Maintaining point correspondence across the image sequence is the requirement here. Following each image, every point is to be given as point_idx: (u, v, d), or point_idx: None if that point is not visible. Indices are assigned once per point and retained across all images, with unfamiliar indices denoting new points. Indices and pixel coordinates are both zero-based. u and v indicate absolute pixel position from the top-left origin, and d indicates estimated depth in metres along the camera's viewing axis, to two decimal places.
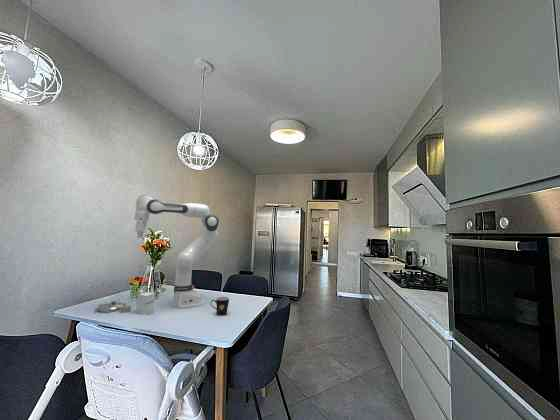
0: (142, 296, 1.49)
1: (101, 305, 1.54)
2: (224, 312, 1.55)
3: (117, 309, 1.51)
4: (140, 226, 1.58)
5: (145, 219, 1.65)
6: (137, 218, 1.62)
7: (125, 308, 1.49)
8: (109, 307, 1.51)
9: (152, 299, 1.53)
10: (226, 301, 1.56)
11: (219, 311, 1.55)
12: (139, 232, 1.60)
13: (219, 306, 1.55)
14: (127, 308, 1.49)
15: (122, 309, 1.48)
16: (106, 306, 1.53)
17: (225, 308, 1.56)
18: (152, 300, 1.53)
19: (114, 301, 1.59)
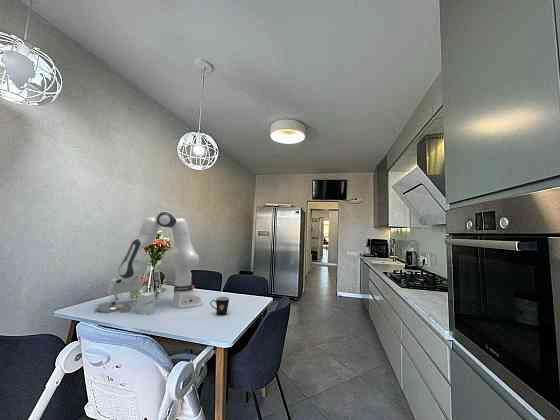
0: (142, 296, 1.49)
1: (101, 305, 1.54)
2: (224, 312, 1.55)
3: (117, 309, 1.51)
4: None
5: None
6: (133, 279, 1.68)
7: (125, 308, 1.49)
8: (109, 307, 1.51)
9: (152, 299, 1.53)
10: (226, 301, 1.56)
11: (219, 311, 1.55)
12: None
13: (219, 306, 1.55)
14: (127, 308, 1.49)
15: (122, 309, 1.48)
16: (106, 306, 1.53)
17: (225, 308, 1.56)
18: (152, 300, 1.53)
19: (114, 301, 1.59)
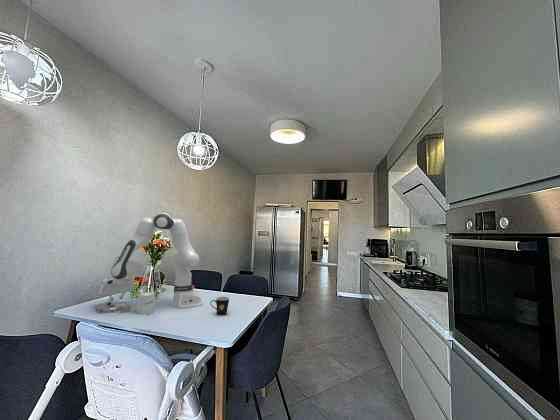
0: (142, 296, 1.49)
1: (99, 306, 1.51)
2: (224, 312, 1.55)
3: None
4: None
5: None
6: (125, 279, 1.65)
7: (125, 308, 1.49)
8: (112, 307, 1.52)
9: (152, 299, 1.53)
10: (226, 301, 1.56)
11: (219, 311, 1.55)
12: None
13: (219, 306, 1.55)
14: (127, 308, 1.49)
15: (122, 309, 1.48)
16: (106, 306, 1.52)
17: (225, 308, 1.56)
18: (152, 300, 1.53)
19: (110, 301, 1.58)
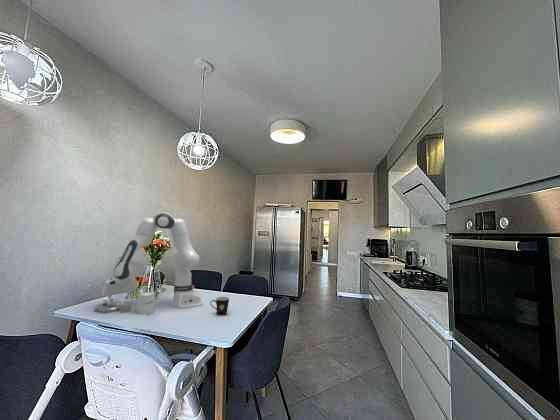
0: (142, 296, 1.49)
1: (99, 307, 1.49)
2: (224, 312, 1.55)
3: None
4: None
5: None
6: (128, 280, 1.66)
7: (125, 308, 1.49)
8: (114, 306, 1.53)
9: (152, 299, 1.53)
10: (226, 301, 1.56)
11: (219, 311, 1.55)
12: None
13: (219, 306, 1.55)
14: (127, 308, 1.49)
15: (122, 309, 1.48)
16: (107, 307, 1.52)
17: (225, 308, 1.56)
18: (152, 300, 1.53)
19: (106, 302, 1.57)
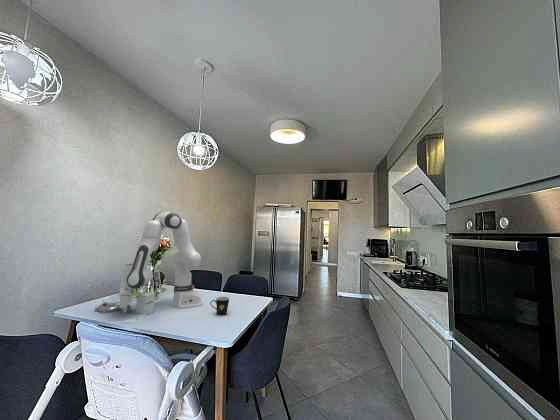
0: (142, 296, 1.49)
1: (99, 307, 1.49)
2: (224, 312, 1.55)
3: None
4: None
5: None
6: None
7: None
8: (114, 306, 1.53)
9: (152, 299, 1.53)
10: (226, 301, 1.56)
11: (219, 311, 1.55)
12: None
13: (219, 306, 1.55)
14: (127, 308, 1.49)
15: (122, 309, 1.48)
16: (107, 307, 1.52)
17: (225, 308, 1.56)
18: (152, 300, 1.53)
19: (106, 302, 1.57)
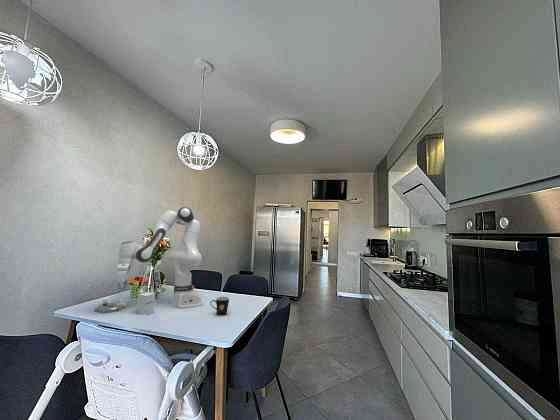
0: (142, 296, 1.49)
1: (99, 307, 1.49)
2: (224, 312, 1.55)
3: (123, 306, 1.57)
4: None
5: None
6: None
7: None
8: (114, 306, 1.53)
9: (152, 299, 1.53)
10: (226, 301, 1.56)
11: (219, 311, 1.55)
12: None
13: (219, 306, 1.55)
14: (124, 283, 1.57)
15: (119, 284, 1.55)
16: (107, 307, 1.52)
17: (225, 308, 1.56)
18: (152, 300, 1.53)
19: (106, 302, 1.57)
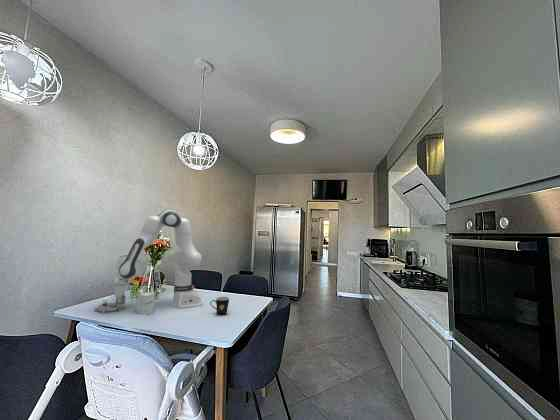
0: (142, 296, 1.49)
1: (99, 307, 1.49)
2: (224, 312, 1.55)
3: (123, 306, 1.57)
4: None
5: None
6: None
7: None
8: (114, 306, 1.53)
9: (152, 299, 1.53)
10: (226, 301, 1.56)
11: (219, 311, 1.55)
12: None
13: (219, 306, 1.55)
14: (122, 298, 1.57)
15: (117, 299, 1.56)
16: (107, 307, 1.52)
17: (225, 308, 1.56)
18: (152, 300, 1.53)
19: (106, 302, 1.57)
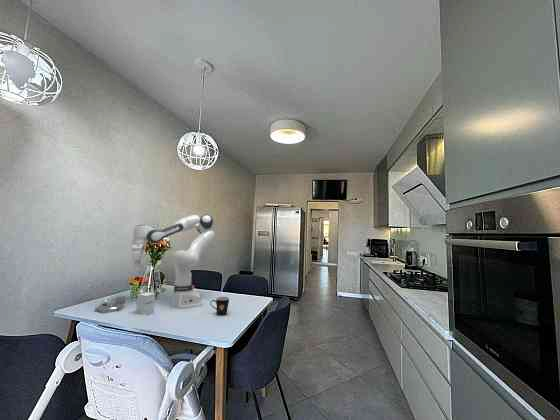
0: (142, 296, 1.49)
1: (99, 307, 1.49)
2: (224, 312, 1.55)
3: (123, 306, 1.57)
4: None
5: None
6: None
7: (120, 298, 1.57)
8: (114, 306, 1.53)
9: (152, 299, 1.53)
10: (226, 301, 1.56)
11: (219, 311, 1.55)
12: None
13: (219, 306, 1.55)
14: (122, 298, 1.57)
15: (117, 299, 1.56)
16: (107, 307, 1.52)
17: (225, 308, 1.56)
18: (152, 300, 1.53)
19: (106, 302, 1.57)
